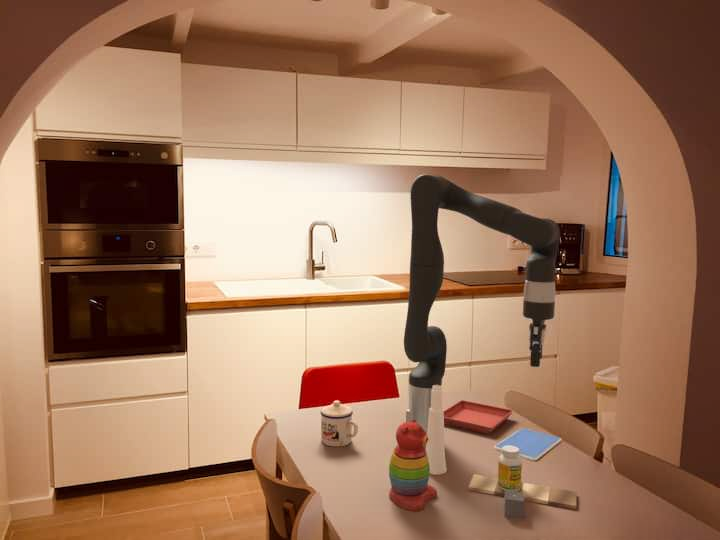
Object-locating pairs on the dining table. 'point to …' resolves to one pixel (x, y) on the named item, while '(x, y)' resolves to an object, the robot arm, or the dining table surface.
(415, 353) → the robot arm
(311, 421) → the dining table surface
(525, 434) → the blue flat rectangular panel
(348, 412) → the teacup with lid
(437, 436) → the cosmetic bottle
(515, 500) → the die
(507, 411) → the plant saucer
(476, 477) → the track
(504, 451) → the supplement bottle
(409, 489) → the stacking bear
